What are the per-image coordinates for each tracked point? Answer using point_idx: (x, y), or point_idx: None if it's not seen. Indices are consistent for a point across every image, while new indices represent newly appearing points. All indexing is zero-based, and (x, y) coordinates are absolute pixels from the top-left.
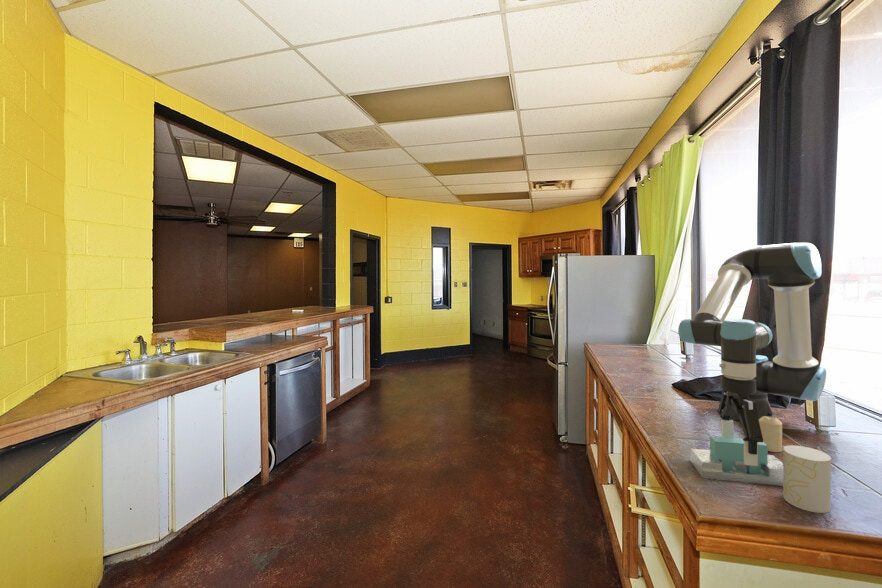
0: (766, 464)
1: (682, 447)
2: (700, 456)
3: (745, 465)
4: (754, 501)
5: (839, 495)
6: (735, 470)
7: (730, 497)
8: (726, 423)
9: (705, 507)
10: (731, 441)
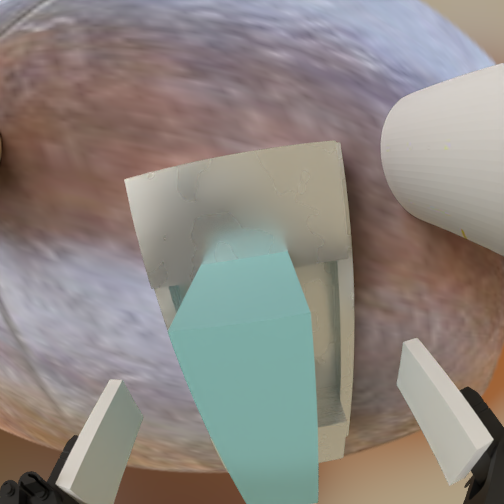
0: (298, 259)
1: None
2: None
3: None
4: (456, 314)
5: (328, 11)
6: None
7: (440, 364)
8: (101, 495)
9: None
10: (299, 474)
